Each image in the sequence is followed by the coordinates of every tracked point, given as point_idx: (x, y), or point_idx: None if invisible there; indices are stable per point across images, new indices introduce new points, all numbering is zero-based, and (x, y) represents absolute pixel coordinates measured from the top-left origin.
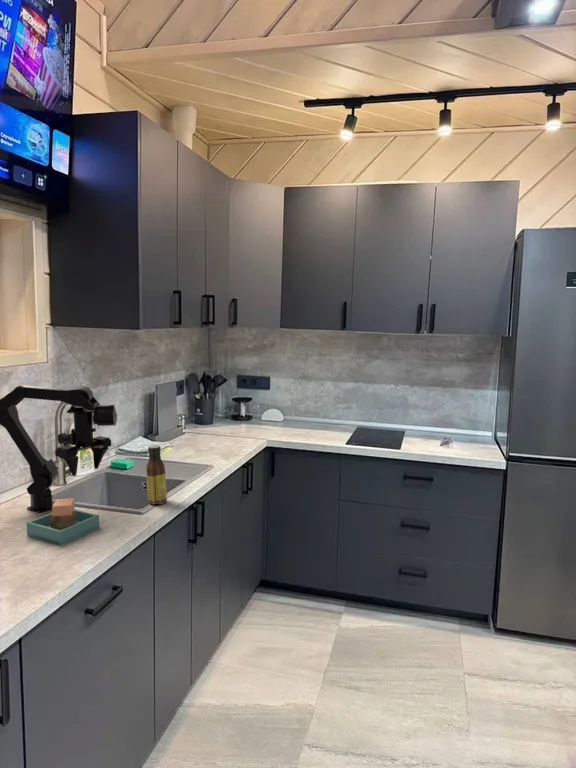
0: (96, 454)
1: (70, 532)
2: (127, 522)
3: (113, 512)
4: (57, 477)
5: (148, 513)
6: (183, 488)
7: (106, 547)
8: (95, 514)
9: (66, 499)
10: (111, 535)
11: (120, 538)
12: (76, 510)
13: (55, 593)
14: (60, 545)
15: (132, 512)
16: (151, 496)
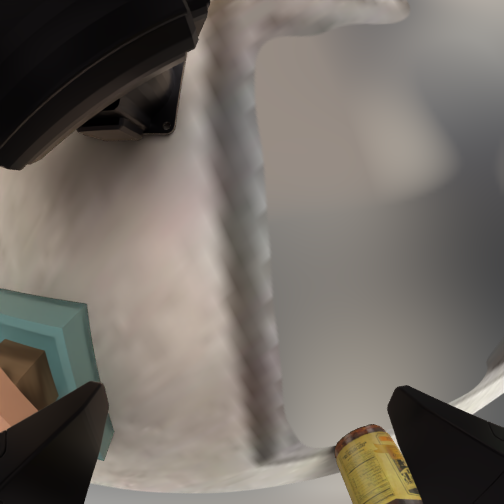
0: (474, 494)
1: None
2: (189, 465)
3: (234, 405)
4: (183, 60)
5: (272, 469)
6: (462, 402)
7: None
8: (100, 452)
9: (3, 422)
10: (109, 464)
11: (113, 478)
12: (72, 389)
13: None
14: None
15: (261, 443)
16: (341, 467)
